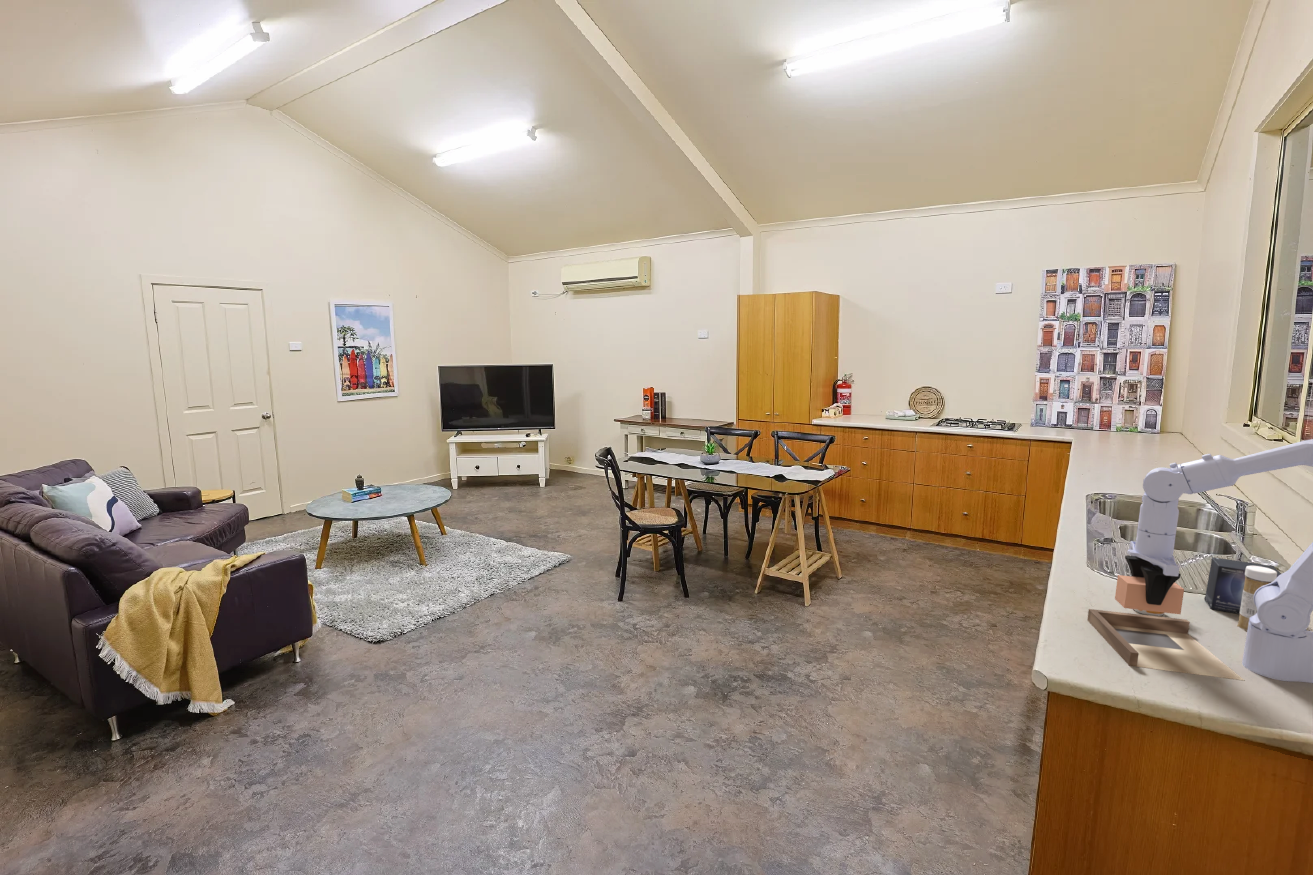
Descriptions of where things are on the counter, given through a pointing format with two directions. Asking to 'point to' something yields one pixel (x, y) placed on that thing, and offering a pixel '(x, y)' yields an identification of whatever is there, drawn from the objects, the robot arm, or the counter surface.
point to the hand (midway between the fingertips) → (1147, 598)
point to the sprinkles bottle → (1253, 591)
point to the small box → (1228, 584)
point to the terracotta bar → (1134, 596)
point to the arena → (1157, 643)
